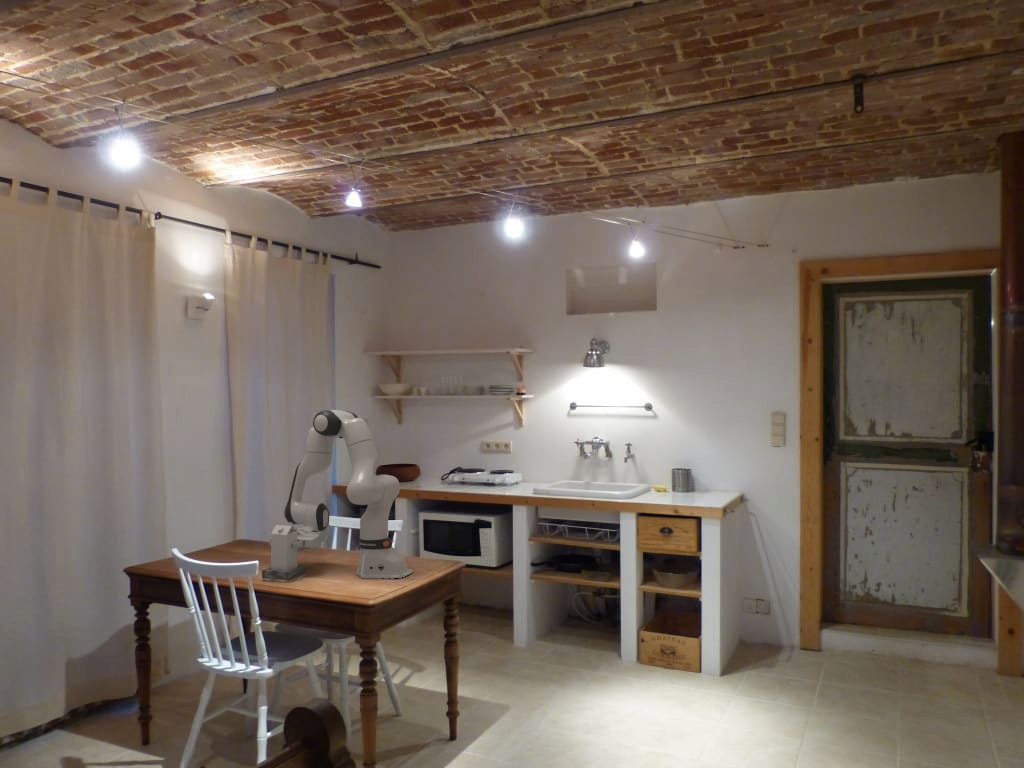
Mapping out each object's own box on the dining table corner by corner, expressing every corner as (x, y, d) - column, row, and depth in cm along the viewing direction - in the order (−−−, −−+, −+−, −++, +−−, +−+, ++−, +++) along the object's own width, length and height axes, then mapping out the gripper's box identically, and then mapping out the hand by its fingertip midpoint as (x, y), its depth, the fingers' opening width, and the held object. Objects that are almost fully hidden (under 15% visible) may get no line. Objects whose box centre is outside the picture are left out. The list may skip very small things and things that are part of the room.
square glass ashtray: (306, 575, 302) (306, 565, 303) (289, 582, 291) (289, 572, 291) (280, 573, 306) (280, 563, 306) (262, 580, 294) (262, 570, 294)
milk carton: (282, 568, 303) (282, 520, 303) (297, 569, 301) (297, 521, 301) (271, 572, 296) (271, 523, 297) (286, 573, 294) (286, 524, 294)
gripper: (280, 529, 314) (260, 535, 301) (324, 532, 308) (305, 538, 295) (280, 544, 314) (260, 551, 301) (324, 547, 308) (305, 554, 295)
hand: (283, 544), depth 298 cm, fingers closed on milk carton, 7 cm apart
